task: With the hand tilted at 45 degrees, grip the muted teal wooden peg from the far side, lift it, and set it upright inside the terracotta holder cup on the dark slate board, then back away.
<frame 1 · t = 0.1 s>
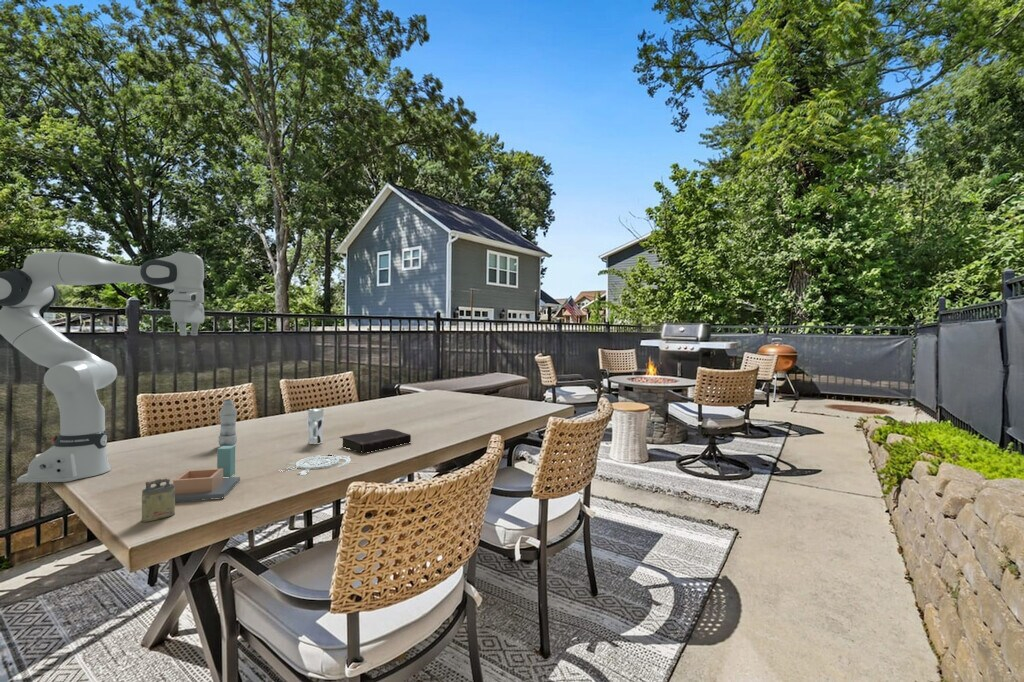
hand: (188, 335, 160), 48 cm above the table, tool pointing down, fingers open, 8 cm apart
plastic bottle: (227, 446, 191), on the table
peg: (226, 476, 152), on the table
holder: (199, 491, 137), on the table
pendant: (317, 465, 169), on the table
beer glass: (315, 443, 199), on the table
green boxy piece: (158, 518, 118), on the table
diary: (375, 446, 198), on the table
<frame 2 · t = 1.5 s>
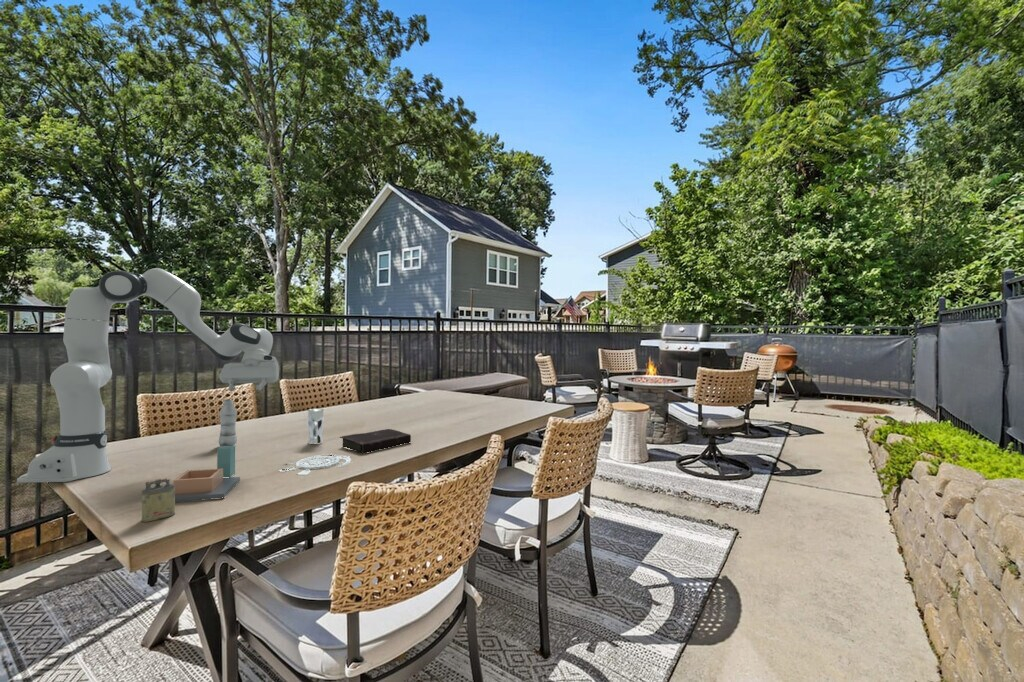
hand: (244, 389, 169), 28 cm above the table, tool tilted 45°, fingers open, 8 cm apart
nothing on the table moved.
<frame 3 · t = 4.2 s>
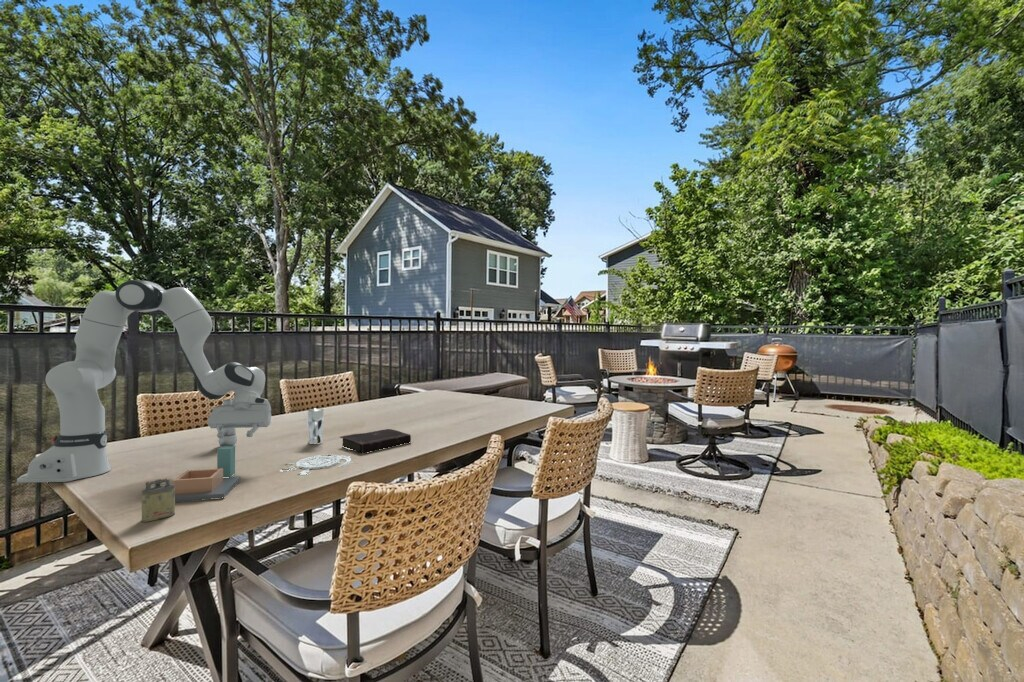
hand: (234, 436, 159), 12 cm above the table, tool tilted 45°, fingers open, 8 cm apart
nothing on the table moved.
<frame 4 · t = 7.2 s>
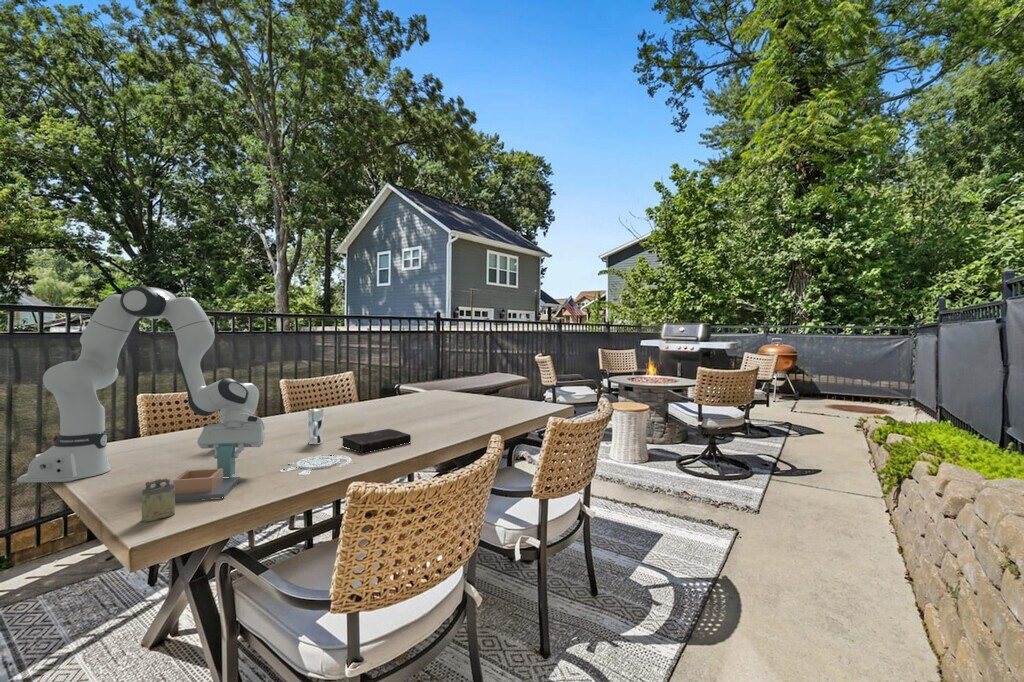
hand: (225, 457, 152), 7 cm above the table, tool tilted 45°, fingers closed on peg, 4 cm apart
peg: (226, 476, 152), on the table, touching gripper
everything else where it was.
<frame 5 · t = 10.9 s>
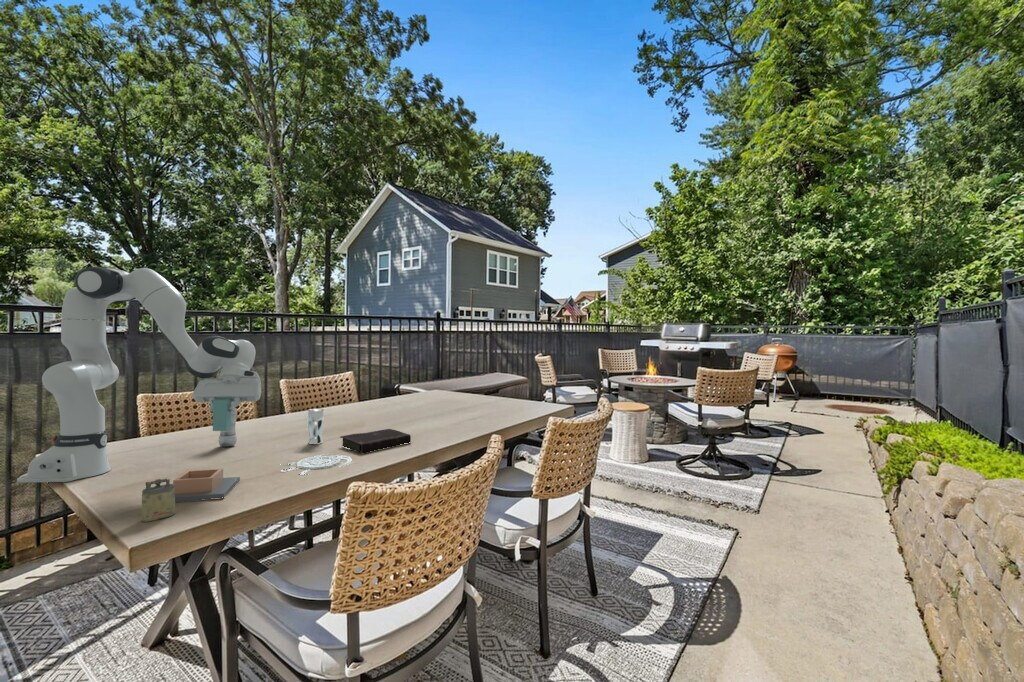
hand: (221, 410, 148), 23 cm above the table, tool tilted 45°, fingers closed on peg, 4 cm apart
peg: (222, 429, 149), point 17 cm above the table, touching gripper
everything else where it was.
when the fingers open (10 cm above the table, at t = 14.8 s): peg drops 1 cm, resting on holder.
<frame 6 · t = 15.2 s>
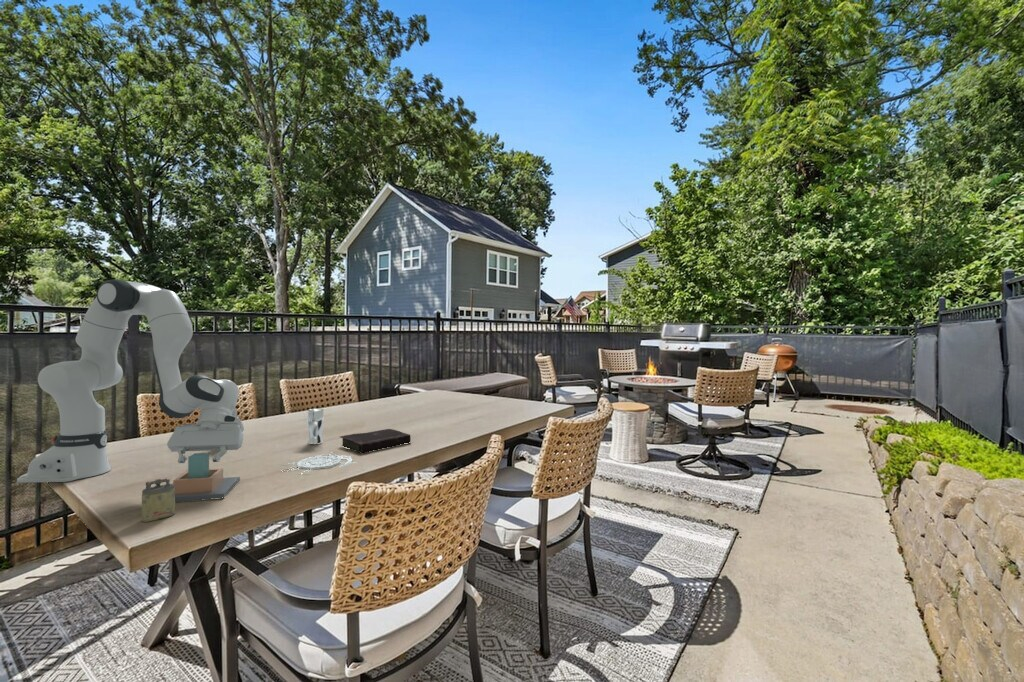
hand: (198, 461, 136), 10 cm above the table, tool tilted 45°, fingers open, 8 cm apart
peg: (198, 487, 137), point 1 cm above the table, touching holder
everything else where it was.
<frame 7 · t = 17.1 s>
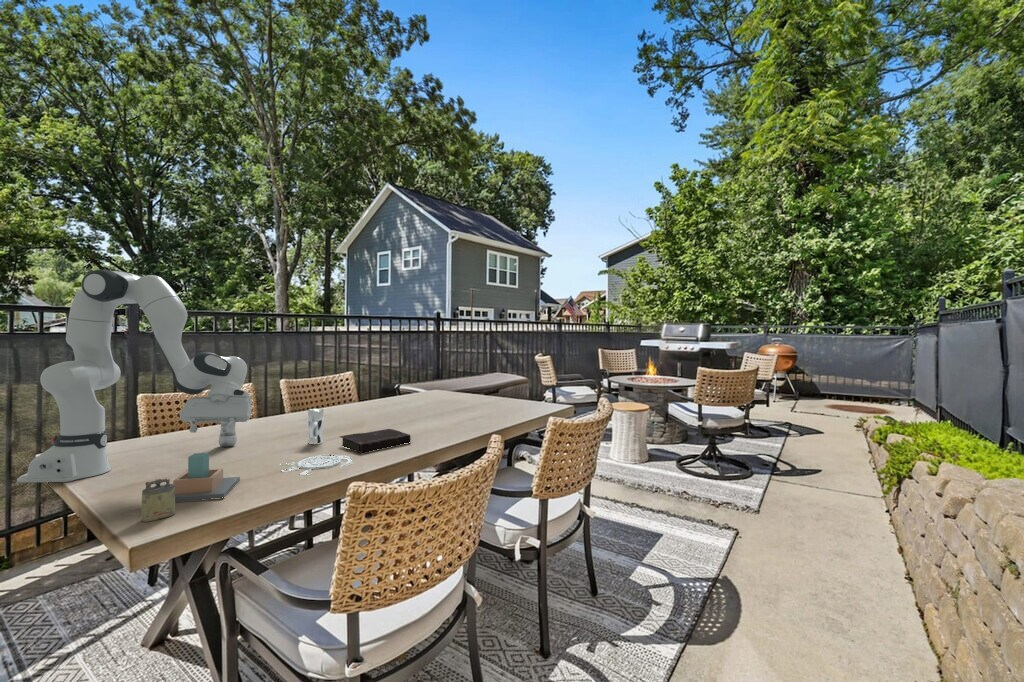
hand: (208, 431, 144), 17 cm above the table, tool tilted 45°, fingers open, 8 cm apart
nothing on the table moved.
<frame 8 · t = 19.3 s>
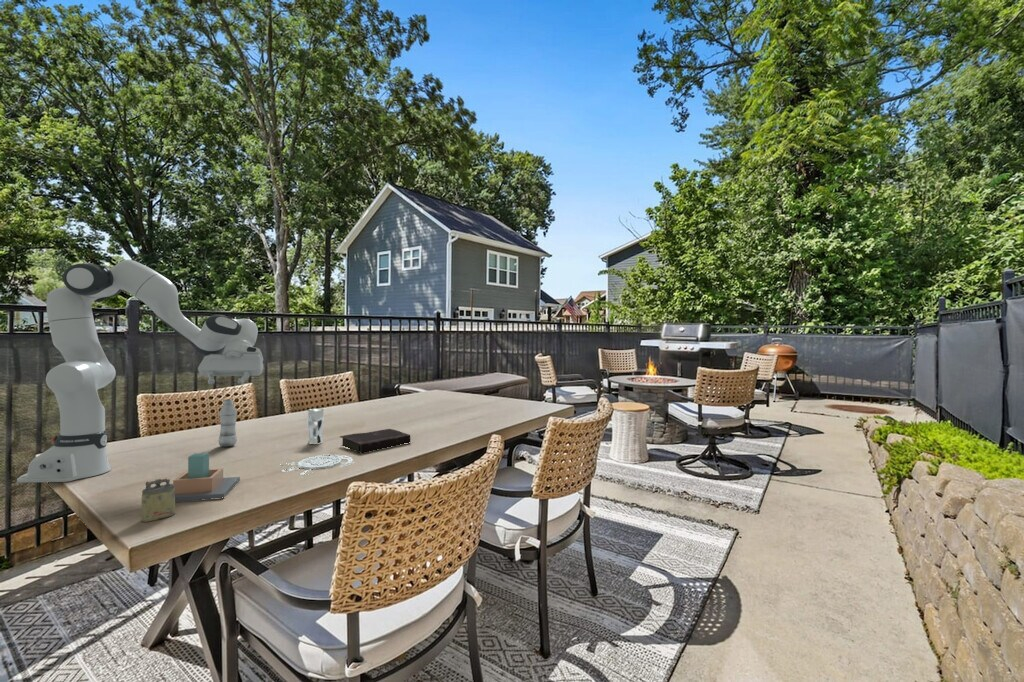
hand: (225, 383, 156), 31 cm above the table, tool tilted 45°, fingers open, 8 cm apart
nothing on the table moved.
at the end: peg 0.2 cm off-centre on the holder, point 1.5 cm above the holder's base; peg tilted 0°; the gripper is holding nothing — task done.
